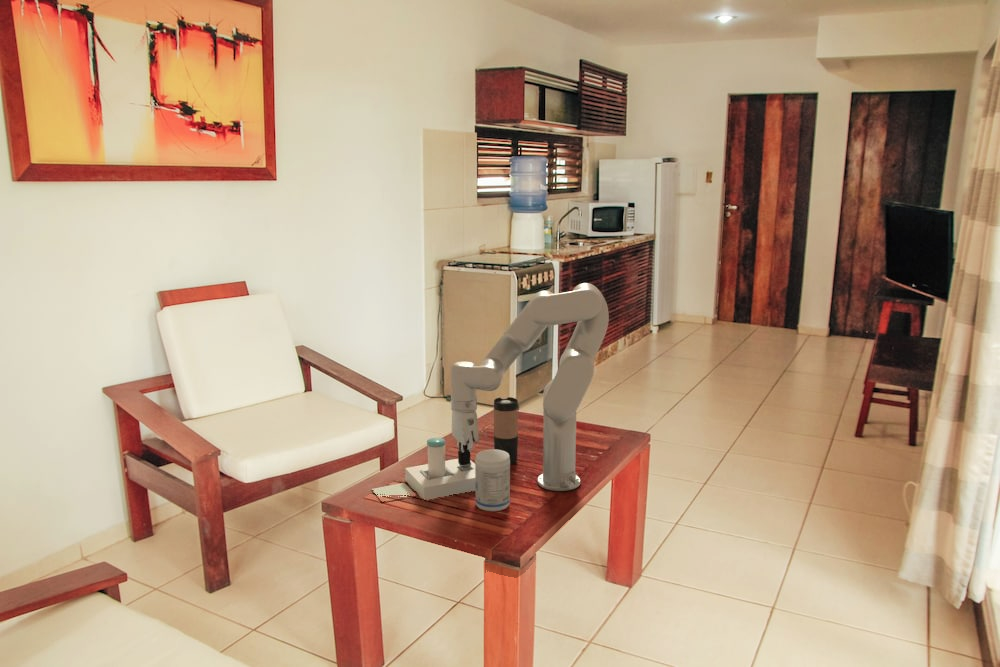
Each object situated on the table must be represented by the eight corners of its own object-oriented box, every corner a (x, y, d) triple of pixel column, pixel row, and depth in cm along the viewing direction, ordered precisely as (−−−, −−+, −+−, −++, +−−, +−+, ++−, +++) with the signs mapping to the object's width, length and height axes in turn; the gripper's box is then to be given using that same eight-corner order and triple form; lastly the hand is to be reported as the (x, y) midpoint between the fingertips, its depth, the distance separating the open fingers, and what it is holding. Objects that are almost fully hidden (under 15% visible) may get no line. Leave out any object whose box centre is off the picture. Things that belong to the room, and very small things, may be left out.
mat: (415, 496, 215) (415, 495, 215) (381, 503, 211) (381, 502, 211) (404, 483, 224) (404, 482, 224) (371, 489, 220) (371, 488, 220)
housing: (488, 487, 221) (488, 474, 220) (424, 501, 212) (423, 486, 212) (466, 469, 235) (466, 456, 234) (405, 480, 226) (404, 467, 226)
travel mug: (508, 467, 237) (508, 405, 233) (489, 461, 241) (488, 401, 237) (522, 459, 243) (522, 399, 238) (503, 454, 247) (503, 395, 243)
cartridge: (448, 487, 221) (447, 442, 218) (432, 491, 219) (430, 444, 216) (442, 481, 226) (441, 436, 223) (425, 484, 224) (424, 439, 221)
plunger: (473, 479, 225) (473, 464, 224) (462, 481, 224) (461, 466, 223) (468, 475, 228) (468, 460, 228) (457, 477, 227) (457, 462, 226)
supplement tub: (474, 498, 214) (473, 449, 211) (508, 497, 215) (507, 447, 212) (476, 513, 204) (476, 462, 201) (511, 512, 205) (511, 460, 202)
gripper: (486, 409, 216) (486, 470, 220) (465, 395, 230) (465, 453, 233) (462, 413, 213) (462, 474, 217) (442, 399, 226) (443, 457, 230)
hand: (464, 463), depth 225 cm, fingers closed
